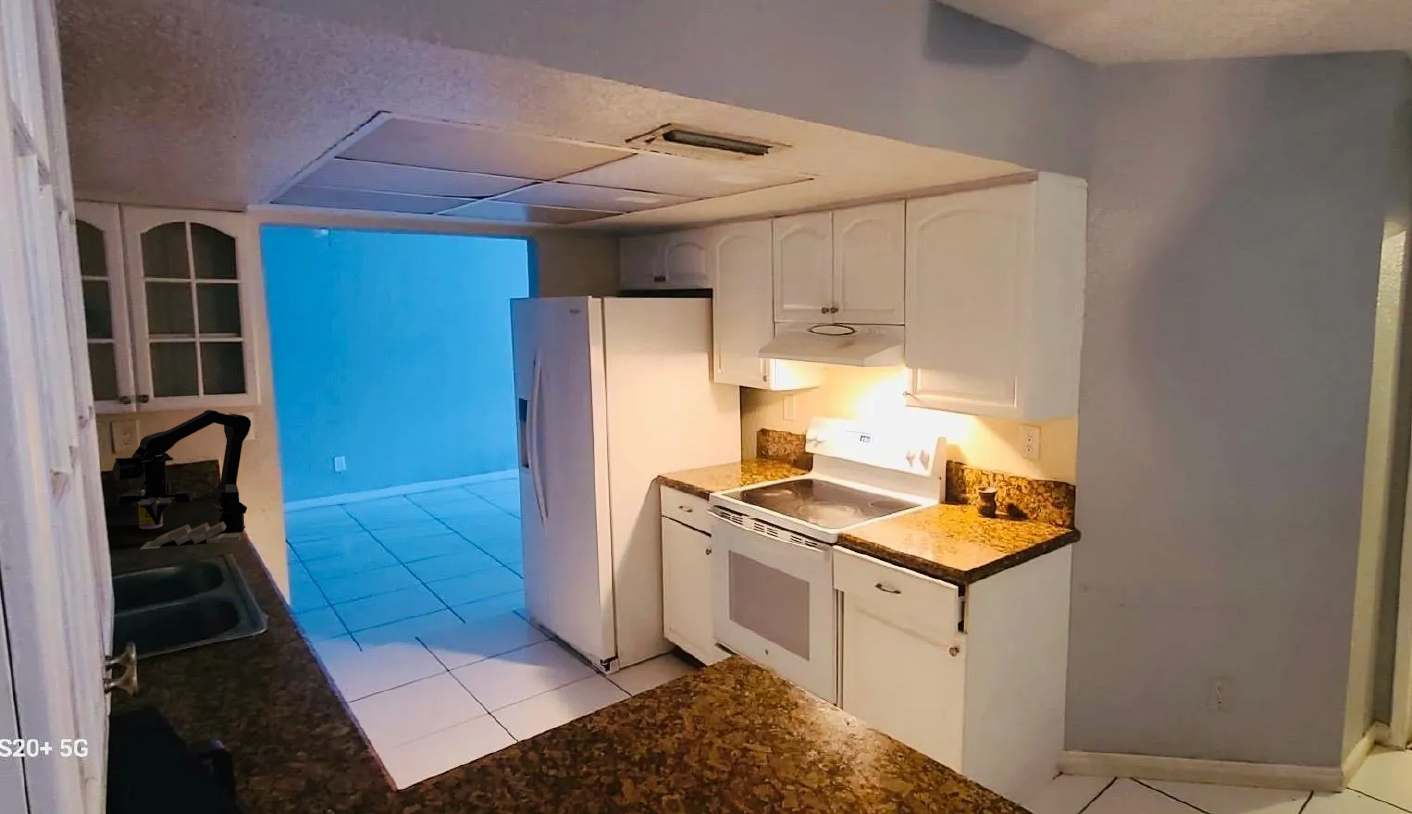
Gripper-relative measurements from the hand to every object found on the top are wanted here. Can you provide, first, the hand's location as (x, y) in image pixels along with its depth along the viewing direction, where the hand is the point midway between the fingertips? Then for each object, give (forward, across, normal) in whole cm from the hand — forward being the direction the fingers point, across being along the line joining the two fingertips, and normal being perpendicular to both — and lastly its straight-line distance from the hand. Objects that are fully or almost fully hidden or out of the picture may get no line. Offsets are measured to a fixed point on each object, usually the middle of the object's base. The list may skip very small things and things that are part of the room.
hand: (157, 524), depth 246 cm
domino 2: (+6, -10, 0) cm, 11 cm away
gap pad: (+6, +2, 0) cm, 7 cm away
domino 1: (+6, -5, 0) cm, 8 cm away
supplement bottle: (+7, +8, -24) cm, 26 cm away
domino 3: (+6, -13, 0) cm, 15 cm away
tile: (+5, 0, 0) cm, 5 cm away
